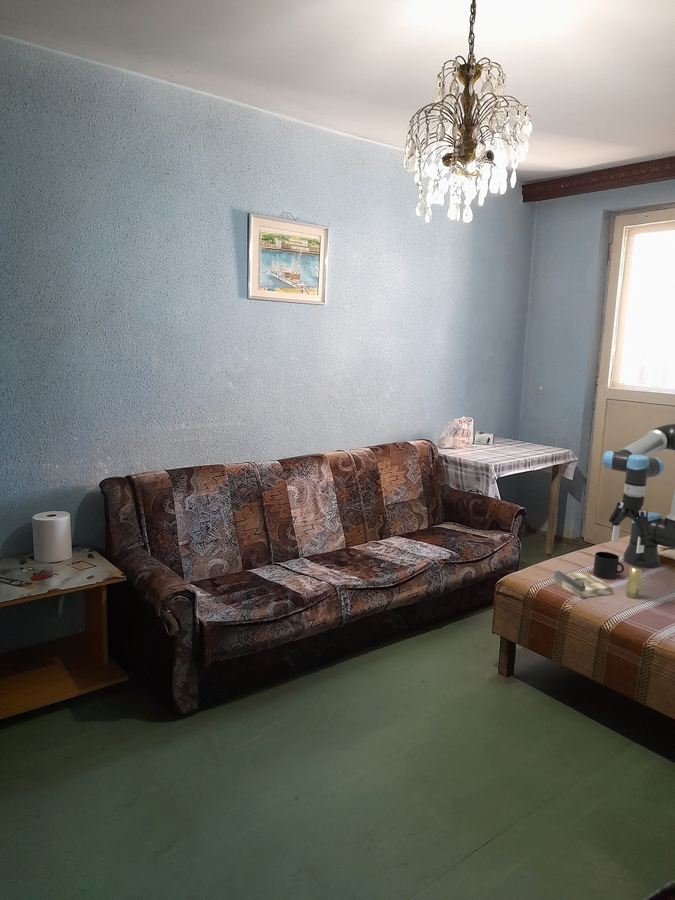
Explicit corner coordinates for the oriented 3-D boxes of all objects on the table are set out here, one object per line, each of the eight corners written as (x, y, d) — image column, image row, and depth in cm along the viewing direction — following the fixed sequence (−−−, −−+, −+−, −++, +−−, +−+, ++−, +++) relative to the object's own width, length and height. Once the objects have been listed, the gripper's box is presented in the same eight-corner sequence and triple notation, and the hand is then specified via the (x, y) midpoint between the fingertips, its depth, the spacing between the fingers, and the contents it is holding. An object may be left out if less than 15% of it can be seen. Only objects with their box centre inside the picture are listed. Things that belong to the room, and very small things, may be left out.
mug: (620, 583, 267) (622, 562, 265) (590, 575, 273) (592, 555, 272) (625, 576, 274) (627, 556, 272) (596, 569, 281) (598, 549, 279)
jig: (585, 578, 270) (586, 567, 269) (612, 593, 255) (614, 582, 254) (553, 582, 264) (555, 571, 264) (580, 598, 250) (581, 586, 249)
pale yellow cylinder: (632, 593, 256) (635, 565, 254) (640, 598, 252) (644, 569, 250) (623, 594, 255) (627, 566, 252) (631, 599, 251) (635, 570, 248)
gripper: (603, 487, 258) (597, 537, 262) (650, 504, 234) (642, 558, 238) (618, 486, 260) (612, 535, 264) (666, 503, 237) (658, 557, 241)
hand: (626, 546), depth 251 cm, fingers open, 13 cm apart
